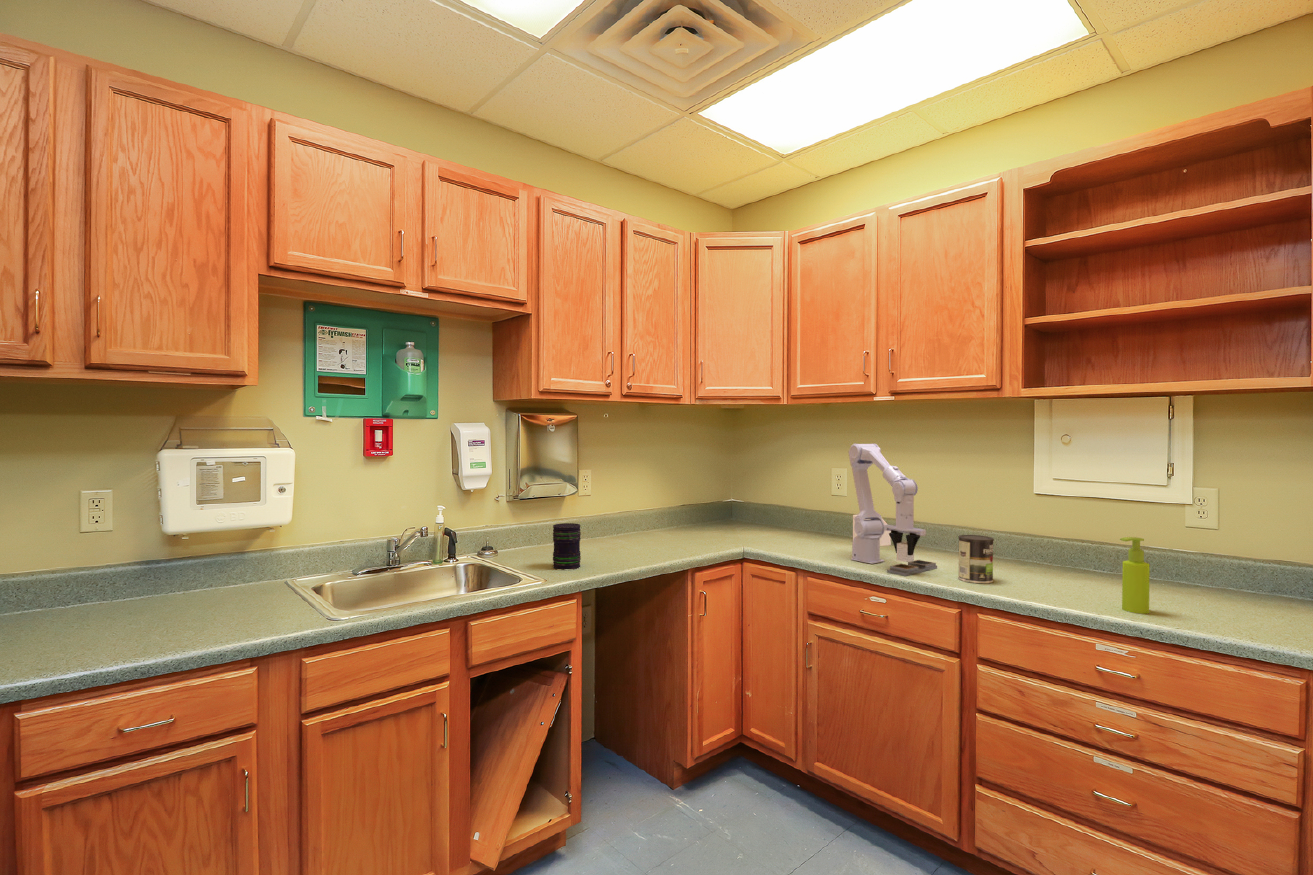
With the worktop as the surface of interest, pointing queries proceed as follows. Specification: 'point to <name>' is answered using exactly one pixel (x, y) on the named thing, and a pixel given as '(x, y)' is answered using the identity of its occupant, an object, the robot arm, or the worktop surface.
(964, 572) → the coffee can
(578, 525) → the storage jar
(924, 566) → the rail
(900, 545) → the block
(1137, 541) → the soap dispenser
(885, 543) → the corner bracket
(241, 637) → the worktop surface
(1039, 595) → the worktop surface
